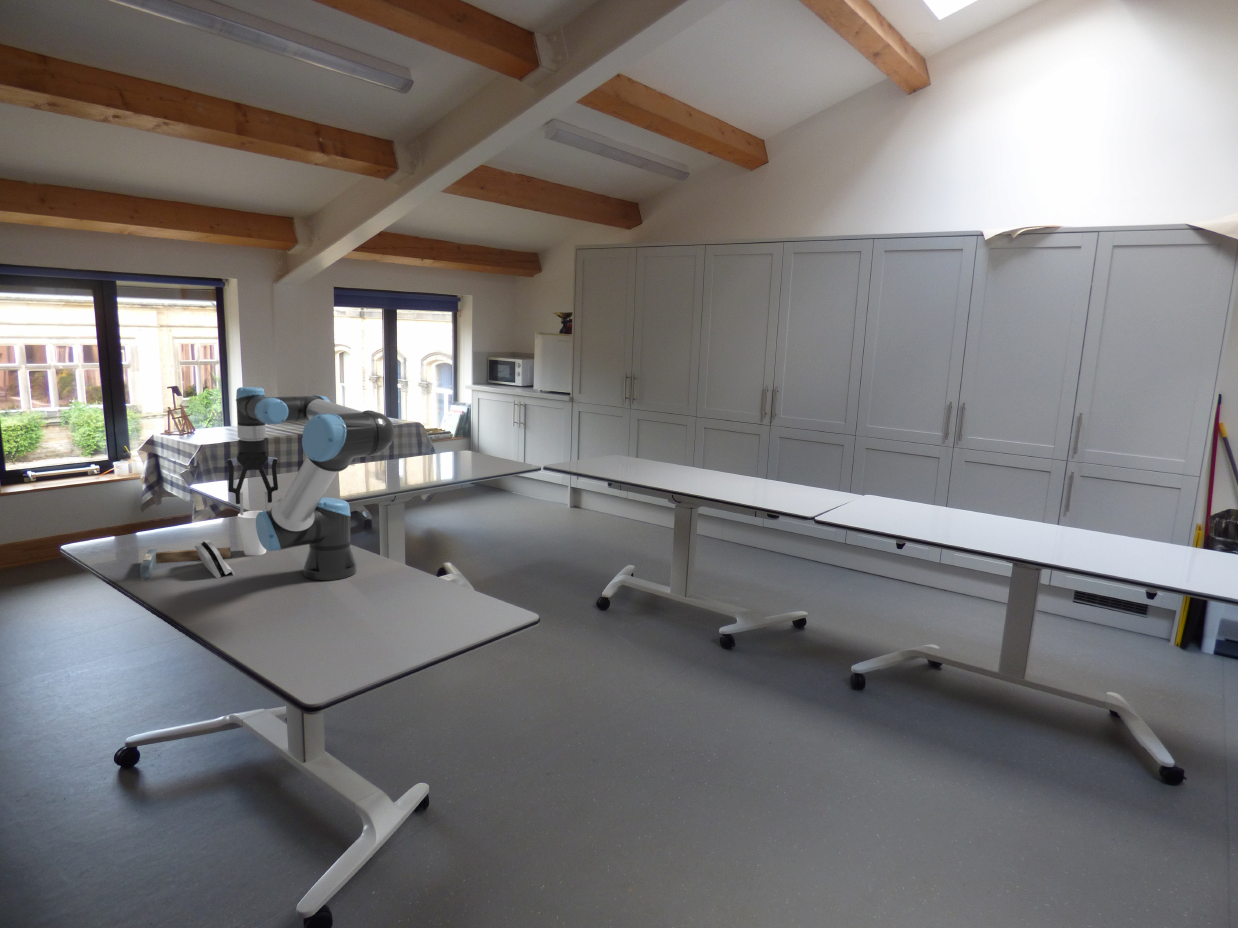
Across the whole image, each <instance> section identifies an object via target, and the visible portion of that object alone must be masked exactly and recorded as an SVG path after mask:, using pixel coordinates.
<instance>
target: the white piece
mask: <svg viewBox="0 0 1238 928" xmlns="http://www.w3.org/2000/svg"><path fill="white" fill-rule="evenodd" d="M194 548H195V550H197V552H198V554H199V556H200V558H201V560H200V561H201V562H202V564H203V565H204V566H205V568H207V570H209V572H211V574H212V575H213V576H214V577H215V578H216V579H220V578H221V577H222V576H223V575H228V574H230V573H231V574H232V576H236V573H235V572H234V570H233V569H232V568H231V567H230V566H229V565H228V564H227V562H225V561H224V558H222V557H221V555H220V553H219V551H218V550H217V549H216V548H217V546H215V545H214V543H213V542H212V541H210V540H209V539H206V540H203V541H202V542H201V543H197V544H195V545H194Z"/></svg>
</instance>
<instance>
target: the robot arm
mask: <svg viewBox="0 0 1238 928" xmlns="http://www.w3.org/2000/svg"><path fill="white" fill-rule="evenodd" d="M235 395H236V396H235V397H236V398H235V402H236V421H237V424H236V426H237V428H236V429H237V430H236V431H237V438H238V440H237V451H238V453H237V456H236V457H233V458H228V459H227V465H228V487H227V488H228V489H227V490H228V493H233V494H234V495H235V497H234V498H235V504H236V505H239V511H240V512H239V513H240V515H243V512H244V492H241V490H242V487H243V484H244V480H245V479H246V478H245V477H246V475H247V471H251V470H255V471H259V474H260V476H261V479H262V482H263V484H264V486H265V487H264V488H265V489H266V491H264V506H265V507H264V510H262V511H263V512H259V513H258V514H257V516H256V531H257V535H258V538H259V541H260V543H261V544H262V546H263V547H264V548H265V549H266V551H268V552H276V551H282V550H288V549H293V548H298V547H302V546H306V545H308V546H309V548H308V549H309V550H308V553H307V555H306V559H305V561H304V564H303V576H304V577H305V578H308V579H310V580H313V581H314V580H315V581H334V580H342V579H345V578H349V577H351V576H354V575H355V574H356V573H357V570H358V569H357V568H358V567H357V561H356V558H355V556H354V553H353V551H352V548H351V516H352V515H351V508H350V504H349V502H348V501H346V500H344V499H341V498H335V497H327V496H326V497H325V496H324V495H325V494H326V492H327V490H328V489H329V487H330V486H331V483H332V482H333V481H334V478H335V477H336V475H337V473H339V472H343V471H344V470H347V468H348V467H349V465H351V463H352V461H353V460H354V459H355V458H360V457H363V458H364V457H371V456H376V455H379V454H382V453H383V452H385V451H386V450H388V448H389V447H390V446H391V445H392V443H393V442H394V441H393V440H394V438H395V427H394V425H393V422H392V421H391V420H390V418H389V417H388V416H386V415H385V414H384V413H382V412H378V411H375V410H370V409H367V410H363V411H361V410H357V409H355V408H351V407H348V406H345V405H341V404H338V403H334V402H331V400H330V399H329V398H328V397H327V396H325V395H318V394H317V395H316V394H313V395H303V396H301V395H299V396H266V394H265V390H264V388H262V387H259V386H258V387H257V386H241V387H238V388H237V389H236V394H235ZM293 422H295V423H296V422H306V423H305V424H304V427H303V428H302V429H303V430H302V437H301V443H302V450H303V452H304V454H305V455H306V456H305V459H304V461H303V462H302V464H301V466H300V468H299V470H298V472H297V473H296V475H295V478H294V479H293V481H292V482H291V484H290V486H289V488H288V490H287V492H286V493H285V495H284V497H281V498H279V499H277V500H276V501H275V502H274V503H273V505H272V506H271V508H270V510H269V504H271V503H272V502H273V493H274V492H275V491H278V490H279V483H278V473H277V464H278V458H277V457H270V456H269V455H268V454H267V440H266V439H265V438H267V437H266V433H267V431H266V428H267V427H266V425H268V426H270V425H281V424H282V423H293ZM267 461H268V462H269V463H268V464H269V465H270V466H271V476H272V485H273V486H271V483H270V481H269V479H268V476H267V474H266V471H265V468H264V465H265V464H266V463H267ZM237 462H238V463H239V464H240V465H241V466H242V469H241V473H240V476H239V479H238V482H237V485H236V487H234V484H235V483H234V480H235V466H236V465H237Z"/></svg>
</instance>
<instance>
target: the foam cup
mask: <svg viewBox="0 0 1238 928" xmlns="http://www.w3.org/2000/svg"><path fill="white" fill-rule="evenodd" d="M263 511H264V510H251V511H250V510H249V511H243V515H240V512H239V513H238V514H237V523H238V525H239V526H238V527H239V533H240V537H241V542H242V549H243V553H244V555H245V556H254V557H255V556H261V555H264V554H266V553H267V550H266V549H265V548H264V547H263V546H262V544H261V543H260V541H259V538H258V535H257V531H256V516H257V514H258V513H259V512H263Z"/></svg>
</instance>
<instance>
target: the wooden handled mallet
mask: <svg viewBox="0 0 1238 928" xmlns="http://www.w3.org/2000/svg"><path fill="white" fill-rule="evenodd" d="M216 549H217V550H218V551H219V553H220V555H221V557H222V559H227V558H229V559H230V558H231V555H232V554H231V553H232V552H231V547H216ZM187 561H188V562H189V561H190V562H191V561H202V560H201V558H200V556H199V554H198V552H197V550H196V549H185V550H171V551H169V550H168V551H157V548H155V549H154V548H151V549H148V550H147V551H146V554H145V556H144V558H143V560H142V562H141V564H140V566H139V570H140V571H139V572H140V573H139V574H140V575H139V576H140V581H143V580H144V581H145V580H150V578H151V576H152V574H153V572H154V570H155V567H156V565H157V564H163V563H174V562H176V563H177V562H187Z"/></svg>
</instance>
